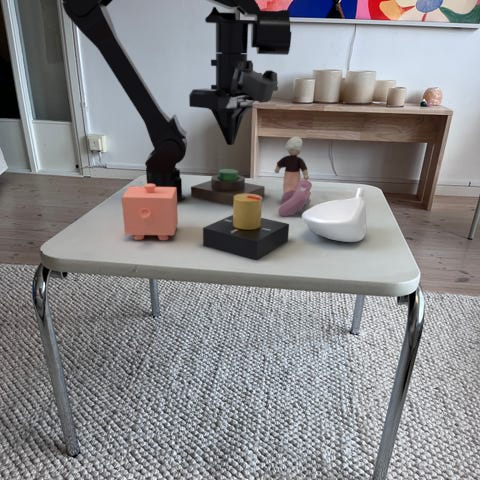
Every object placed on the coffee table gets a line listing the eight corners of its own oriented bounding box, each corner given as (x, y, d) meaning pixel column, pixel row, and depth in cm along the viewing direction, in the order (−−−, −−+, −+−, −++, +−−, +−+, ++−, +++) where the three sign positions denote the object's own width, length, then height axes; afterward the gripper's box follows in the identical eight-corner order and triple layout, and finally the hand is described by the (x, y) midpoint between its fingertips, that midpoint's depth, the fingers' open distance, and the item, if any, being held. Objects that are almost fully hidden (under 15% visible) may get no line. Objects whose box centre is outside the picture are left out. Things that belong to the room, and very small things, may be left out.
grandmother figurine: (310, 202, 98) (317, 137, 92) (304, 206, 95) (311, 139, 88) (275, 197, 101) (279, 133, 94) (268, 201, 98) (272, 136, 91)
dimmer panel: (203, 245, 76) (202, 226, 74) (237, 229, 83) (237, 211, 82) (256, 260, 71) (257, 240, 70) (288, 241, 78) (289, 222, 77)
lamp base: (191, 197, 100) (190, 177, 98) (218, 187, 107) (218, 169, 105) (238, 207, 94) (239, 187, 92) (264, 196, 102) (265, 177, 100)
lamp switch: (214, 179, 98) (214, 171, 98) (225, 176, 101) (225, 168, 101) (230, 182, 97) (230, 174, 96) (241, 179, 100) (241, 170, 99)
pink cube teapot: (121, 247, 74) (116, 195, 70) (135, 223, 84) (131, 175, 80) (172, 248, 74) (169, 196, 70) (179, 224, 85) (177, 176, 81)
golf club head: (391, 186, 79) (346, 164, 72) (381, 249, 80) (336, 234, 72) (341, 192, 87) (296, 173, 80) (332, 250, 88) (287, 236, 80)
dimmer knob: (227, 226, 75) (228, 195, 73) (242, 219, 78) (243, 190, 76) (251, 231, 73) (252, 200, 71) (265, 224, 76) (267, 194, 74)
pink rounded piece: (296, 226, 90) (316, 194, 86) (275, 214, 89) (295, 181, 86) (299, 211, 98) (317, 181, 95) (280, 199, 98) (298, 169, 94)
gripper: (241, 54, 75) (239, 157, 83) (295, 55, 89) (288, 143, 96) (185, 52, 80) (188, 149, 88) (244, 53, 94) (242, 137, 101)
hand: (230, 144), depth 93 cm, fingers closed
